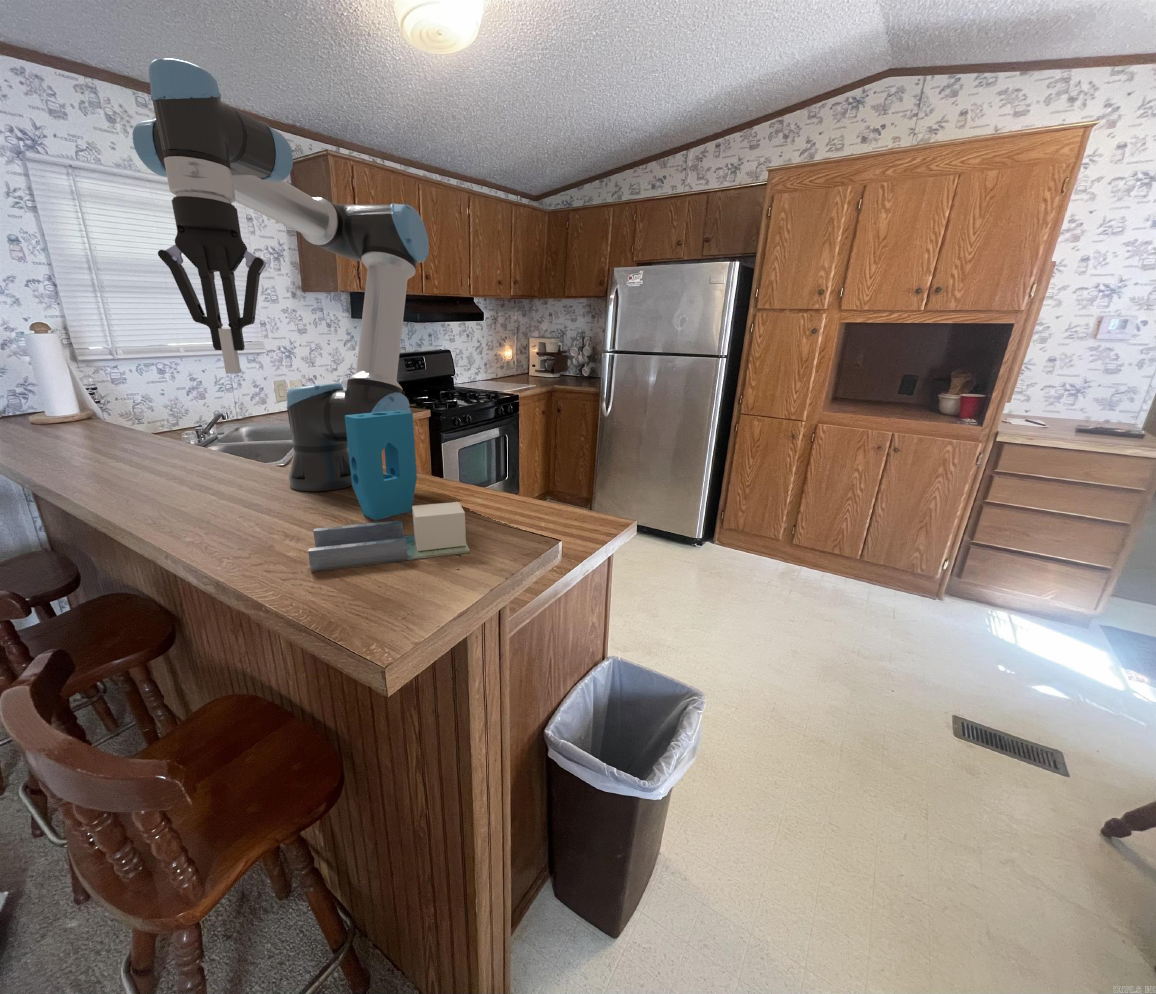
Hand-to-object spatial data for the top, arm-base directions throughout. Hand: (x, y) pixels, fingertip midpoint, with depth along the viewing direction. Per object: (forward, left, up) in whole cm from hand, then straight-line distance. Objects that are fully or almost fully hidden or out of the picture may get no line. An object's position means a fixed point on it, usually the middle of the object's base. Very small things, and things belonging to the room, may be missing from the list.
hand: (233, 372), depth 78 cm
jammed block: (+10, +28, -28) cm, 41 cm away
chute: (+10, +21, -28) cm, 36 cm away
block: (-10, +21, -29) cm, 37 cm away
